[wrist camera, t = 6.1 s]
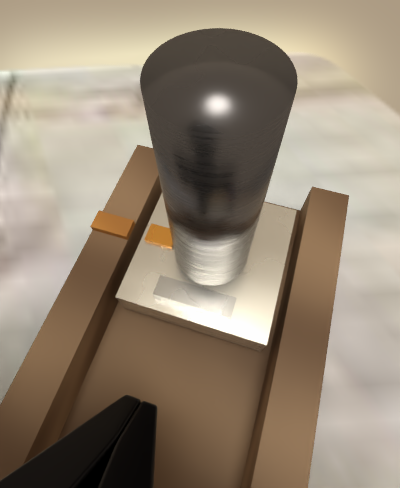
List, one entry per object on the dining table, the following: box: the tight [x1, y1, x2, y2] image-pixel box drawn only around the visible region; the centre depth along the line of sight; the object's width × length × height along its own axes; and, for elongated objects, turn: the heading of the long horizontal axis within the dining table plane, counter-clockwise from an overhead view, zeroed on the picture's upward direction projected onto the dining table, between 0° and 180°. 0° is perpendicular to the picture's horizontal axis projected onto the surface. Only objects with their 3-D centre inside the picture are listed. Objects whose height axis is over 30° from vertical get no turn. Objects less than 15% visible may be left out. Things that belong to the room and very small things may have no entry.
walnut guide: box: [0, 145, 349, 488], centre depth 13 cm, size 14×10×3 cm
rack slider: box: [116, 28, 297, 351], centre depth 11 cm, size 6×6×10 cm
